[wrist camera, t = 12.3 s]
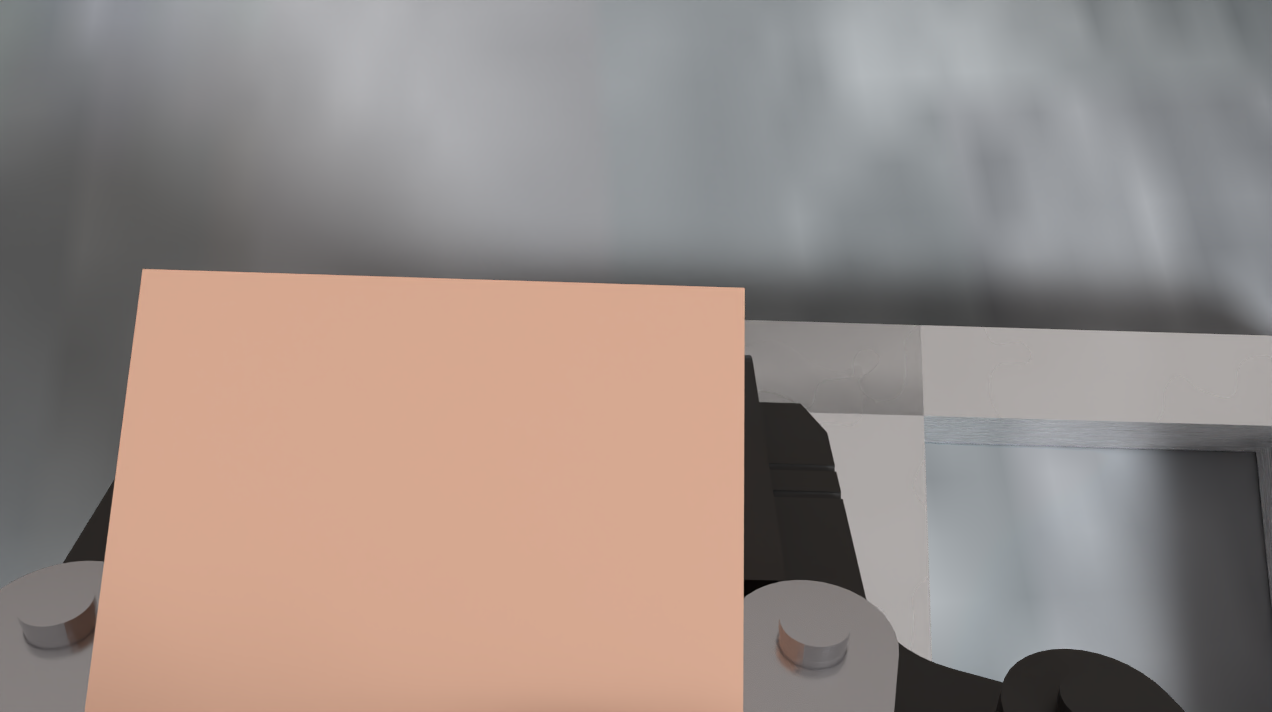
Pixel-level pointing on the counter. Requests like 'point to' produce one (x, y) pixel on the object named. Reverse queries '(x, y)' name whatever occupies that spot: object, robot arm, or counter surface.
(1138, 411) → the grey flat frame
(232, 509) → the peg
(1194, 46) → the counter surface
